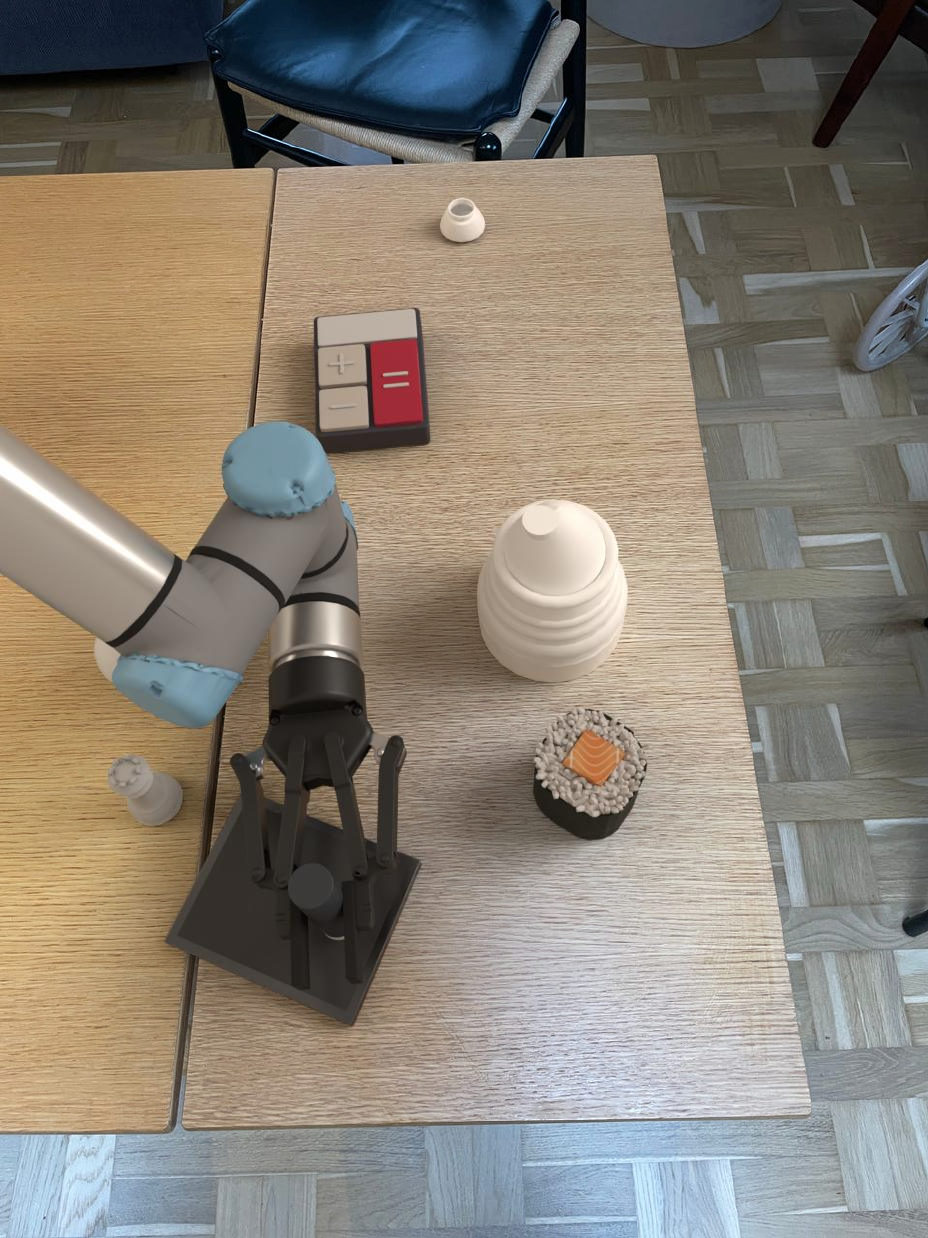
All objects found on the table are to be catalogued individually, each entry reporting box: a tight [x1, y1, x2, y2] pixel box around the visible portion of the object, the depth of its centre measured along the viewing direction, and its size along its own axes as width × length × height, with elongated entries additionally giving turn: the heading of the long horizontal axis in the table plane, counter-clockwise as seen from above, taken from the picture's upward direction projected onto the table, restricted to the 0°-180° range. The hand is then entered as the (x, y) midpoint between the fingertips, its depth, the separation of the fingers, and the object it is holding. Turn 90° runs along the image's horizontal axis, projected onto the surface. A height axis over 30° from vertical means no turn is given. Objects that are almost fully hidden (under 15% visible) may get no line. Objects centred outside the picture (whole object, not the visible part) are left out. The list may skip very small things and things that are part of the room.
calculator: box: [313, 307, 431, 454], centre depth 99 cm, size 11×4×15 cm
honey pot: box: [476, 498, 629, 683], centre depth 80 cm, size 13×13×18 cm
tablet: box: [163, 793, 423, 1027], centre depth 77 cm, size 16×13×1 cm
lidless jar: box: [439, 197, 486, 243], centre depth 110 cm, size 5×3×5 cm
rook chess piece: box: [106, 753, 184, 827], centre depth 78 cm, size 4×4×8 cm
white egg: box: [93, 636, 121, 683], centre depth 85 cm, size 10×7×7 cm
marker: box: [288, 863, 344, 940], centre depth 70 cm, size 3×3×12 cm
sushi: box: [532, 706, 649, 841], centre depth 77 cm, size 8×8×8 cm
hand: (327, 983), depth 67 cm, fingers closed on marker, 3 cm apart
